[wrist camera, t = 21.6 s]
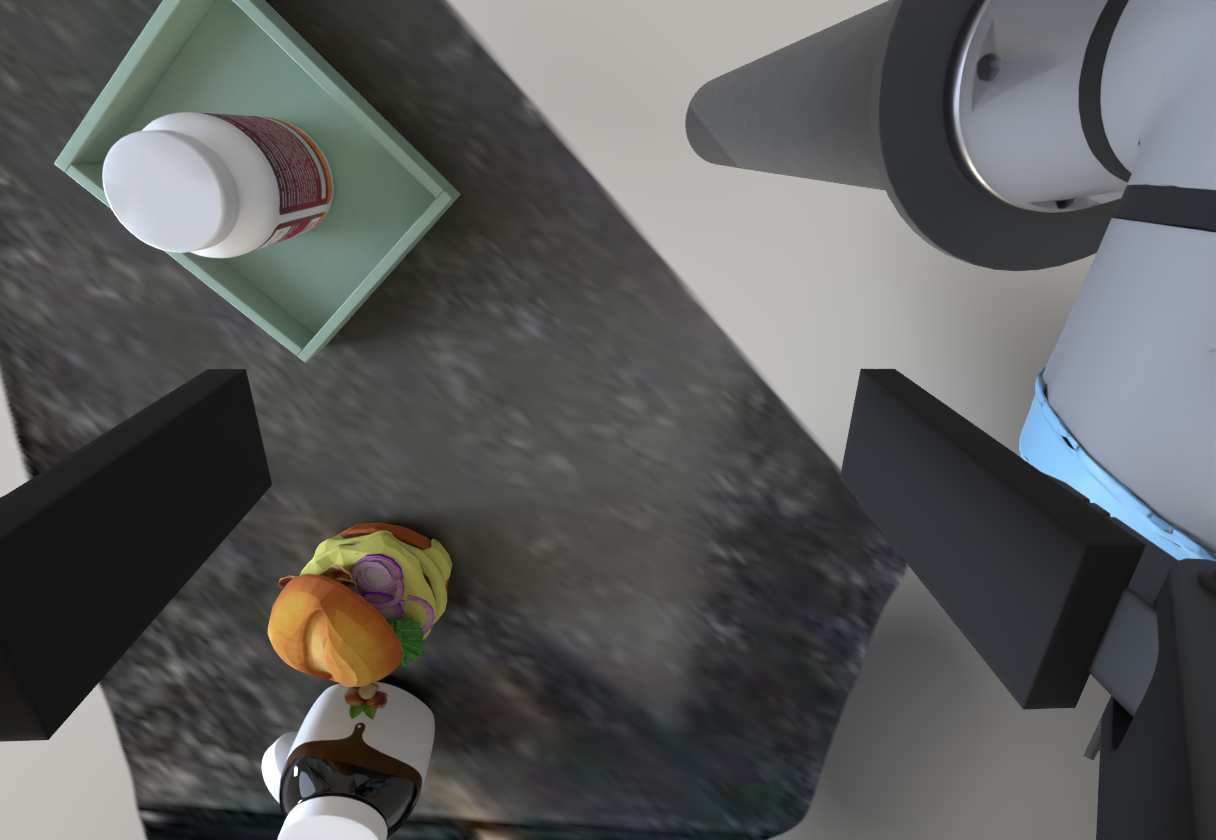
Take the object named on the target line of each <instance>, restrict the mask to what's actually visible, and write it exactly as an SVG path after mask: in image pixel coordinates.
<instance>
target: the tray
mask: <svg viewBox="0 0 1216 840" xmlns="http://www.w3.org/2000/svg"><path fill="white" fill-rule="evenodd" d="M180 112H192V113H211V114H228V115H245V116H261V117H270V118H276V119H280V120H283V121H286V122H288V123H291V124H293V125H295V126H296V127H298V128H300V129H301V130H302V131H304V132H305V133H306V134H308V135H309V136H310V137H311V138H312V139H313V140H314V141H315V142H316V143H317V144H318V146H319V147H320V149H321V150H322V151H323V153H324V155H325V156H326V158H327V160H328V163H329V165H330V168H331V171H332V176H333V183H334V195H333V200H332V204H331V207H330V209H329V212H328V213H327V215H326V216H325V218H324V219H323V220H322V221H321V223H320V224H318V225H317V226H316V227H315V228H313V229H311V230H310V231H308V232H306V233H304V234H301V235H298V236H295V237H292V238H289V239H286V240H284V241H281V242H278V243H275V244H272V245H269V246H266V247H264V248H261V249H258V250H255V251H252V252H250V253H247V254H243V255H239V256H235V257H230V258H211V257H205V256H200V255H197V254H194V253H191V252H186V253H178V252H169V251H165V252H166V253H168V254H169V255H170V256H171V257H173V258H174V259H175V260H176V261H178V262H179V263H180V264H181V265H183V266H184V267H185V268H187V269H188V270H189V271H190V272H192V273H193V274H194V275H195V276H197V277H198V278H199V279H200V280H202V281H203V282H204V283H205V284H207V285H208V286H209V287H210V288H212V289H213V290H214V291H216V292H217V293H218V294H219V295H221V296H222V297H223V298H224V299H226V300H227V301H228V302H229V303H231V304H232V305H233V306H234V307H236V308H237V309H238V310H240V311H241V312H242V313H243V314H245V315H246V316H247V317H248V318H250V319H251V320H252V321H253V322H255V323H256V324H257V325H258V326H260V327H261V328H262V329H263V330H265V331H266V332H267V333H269V334H270V335H271V336H272V337H274V338H275V339H276V340H277V341H279V342H280V343H281V344H282V345H284V346H285V347H286V348H287V349H289V350H290V351H291V352H293V353H294V354H295V355H298V357H299V358H300V359H301V360H303V361H304V362H307V361H308V360H310V359H311V358H312V357H313V356H314V355H316V354H317V353H318V352H319V351H320V350H321V349H323V348H324V347H325V346H326V345H327V344H328V343H329V342H330V340H331V339H332V338H333V337H334V336H335V335H336V334H337V333H338V331H339V330H340V329H341V328H342V327H343V326H344V325H345V324H346V323H347V321H348V320H349V319H350V318H351V317H352V316H353V315H354V314H355V312H356V311H357V310H358V309H359V308H360V307H361V306H362V305H363V304H364V302H365V301H366V300H367V299H368V298H369V297H370V296H371V295H372V293H373V292H374V291H375V290H376V289H377V288H378V287H379V286H380V285H381V283H382V282H383V281H384V280H385V279H386V278H387V277H388V276H389V274H390V273H391V272H392V271H393V270H394V269H395V268H396V267H397V266H398V264H399V263H400V262H401V261H402V260H403V259H404V258H405V257H406V255H407V254H408V253H409V252H410V251H411V250H412V249H413V248H414V247H415V245H416V244H417V243H418V242H419V241H420V240H421V239H422V238H423V236H424V235H425V234H426V233H427V232H428V231H429V230H430V229H431V228H432V226H433V225H434V224H435V223H436V222H437V221H438V220H439V219H440V217H441V216H442V215H443V214H444V213H445V212H446V211H447V210H448V209H449V207H450V206H451V205H452V204H453V203H454V202H455V201H456V200H457V198H458V197H459V196H460V195H461V194H460V193H459V192H458V191H457V190H456V189H455V188H454V187H453V186H452V185H451V184H450V183H449V182H448V181H447V180H446V179H445V178H444V177H443V176H442V175H441V174H440V173H439V172H438V171H437V170H436V169H435V168H434V167H433V166H432V165H431V164H430V163H429V162H428V161H427V160H426V159H425V158H424V157H423V156H422V155H421V154H420V153H419V152H418V151H417V150H416V149H415V148H414V147H413V146H412V145H411V144H410V143H409V142H408V141H407V140H406V139H405V138H404V137H403V136H402V135H401V134H400V133H399V132H398V131H397V130H396V129H395V128H394V127H393V126H392V125H391V124H390V123H389V122H388V121H387V120H386V119H385V118H384V117H383V116H382V115H381V114H380V113H379V112H377V111H376V110H375V109H374V108H373V107H372V106H371V105H370V104H369V103H368V102H367V101H366V100H365V99H364V98H363V97H362V96H361V95H360V94H359V93H358V92H357V91H356V90H355V89H354V88H353V87H352V86H351V85H350V84H349V83H348V82H347V81H346V80H345V79H344V78H343V77H342V76H341V75H340V74H339V73H338V72H337V71H336V70H335V69H334V68H333V67H332V66H331V65H330V64H329V63H328V62H327V61H326V60H325V59H324V58H323V57H322V56H321V55H320V54H319V53H318V52H317V51H316V50H315V49H314V48H313V47H312V46H311V45H310V44H309V43H308V42H307V41H306V40H305V39H304V38H303V37H302V36H301V35H300V34H299V33H298V32H297V31H296V30H295V29H294V28H292V27H291V26H290V25H289V24H288V23H287V22H286V21H285V20H284V19H283V18H282V17H281V16H280V15H279V14H278V13H277V12H276V11H275V10H274V9H273V8H272V7H271V6H270V5H269V4H268V3H267V2H266V1H265V0H163V1H162V3H161V4H160V6H159V7H158V9H157V10H156V12H155V13H154V15H153V16H152V18H151V19H150V21H149V22H148V24H147V25H146V27H145V28H144V30H143V31H142V33H141V34H140V36H139V37H138V39H137V40H136V42H135V43H134V45H133V46H132V48H131V49H130V51H129V52H128V54H127V55H126V57H125V58H124V60H123V61H122V63H121V64H120V66H119V67H118V69H117V70H116V72H115V73H114V75H113V76H112V78H111V79H110V81H109V82H108V84H107V85H106V87H105V88H104V90H103V91H102V93H101V94H100V96H99V97H98V99H97V100H96V102H95V103H94V104H93V106H92V107H91V109H90V110H89V112H88V113H87V115H86V116H85V118H84V119H83V121H82V122H81V124H80V125H79V127H78V128H77V130H76V131H75V133H74V134H73V136H72V137H71V139H70V140H69V142H68V143H67V145H66V146H65V148H64V149H63V151H62V152H61V154H60V155H59V157H58V158H57V160H56V161H55V163H54V164H55V165H56V166H58V167H59V168H60V169H62V170H63V171H64V172H66V173H67V174H68V175H69V176H70V177H72V178H73V179H74V180H75V181H77V182H78V183H79V184H80V185H82V186H83V187H84V188H86V189H87V190H88V191H89V192H91V193H92V194H93V195H94V196H96V197H97V198H98V199H99V200H101V201H102V202H103V203H104V204H106V205H107V206H108V207H110V205H109V202H108V200H107V198H106V195H105V191H104V187H103V177H102V174H103V165H104V161H105V159H106V156H107V154H108V152H109V150H110V149H111V148H112V146H113V145H114V144H115V143H116V142H117V141H119V140H120V139H121V138H123V137H125V136H127V135H129V134H131V133H134V132H139V131H142V130H143V129H144V128H145V127H146V126H147V125H148V124H150V123H151V122H152V121H154V120H156V119H158V118H160V117H163V116H165V115H169V114H173V113H180ZM110 208H111V207H110Z"/></svg>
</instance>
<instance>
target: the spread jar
mask: <svg viewBox="0 0 1216 840" xmlns="http://www.w3.org/2000/svg"><path fill="white" fill-rule="evenodd" d="M434 733H435V722H434V716H433V713H432V711H431V709H430V707H429V705H428V704H427V702H426V701H425V700H424V699H423V697H422V696H421V695H420V694H419V693H417V692H416V691H415V690H414V689H412V688H411V687H410V686H408V685H407V684H405V683H403V682H401V681H399V680H396V679H393V678H390V677H384V678H383V679H381V680H379V681H376V682H373V683H371V684H368V685H366V686H363V687H347V686H344V685H342V684H340V683H335V684H334V685H332V686H331V687H329V688H328V689H326V690H325V691H324V692H323V693H322V694H321V695H320V697H319V698H318V699H317V700H316V701H315V703H314V704H313V706H312V708H311V709H310V711H309V712H308V714H307V716H306V718H305V720H304V722H303V724H302V726H301V728H300V730H299V732H288V733H286V734H283V735H282V736H281V737H280V738H279V739H278V740H277V741H276V742H275V743H274V744H273V745H272V746H271V747H270V748H269V749H268V750H267V751H266V753H265V754H264V757H263V760H262V773H263V777H264V780H265V783H266V785H267V787H268V789H269V791H270V792H271V794H272V795H273V797H274V798H275V799H276V800H277V801H278V802H279V803H280V808H281V811H282V813H283V816H284V818H285V822H284V825H283V827H282V830H281V832H280V834H279V837H278V840H386V839H387V838H388V837H390V836H391V835H392V834H393V833H395V832H396V831H397V830H398V829H399V828H400V827H401V826H402V824H403V823H404V822H405V821H406V820H407V818H408V817H409V816H410V814H411V812H412V810H413V809H414V807H415V805H416V803H417V801H418V799H419V796H420V793H421V790H422V787H423V784H424V781H425V777H426V774H427V769H428V765H429V761H430V757H431V752H432V747H433V742H434Z"/></svg>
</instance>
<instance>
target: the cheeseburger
mask: <svg viewBox="0 0 1216 840" xmlns="http://www.w3.org/2000/svg"><path fill="white" fill-rule="evenodd" d="M451 569H452V562H451V559H450V556H449V554H448V553H447V551H446V550H445V549H444V547H443V546H442V545H441V543H440V542H439V541H437V540H435V539H432V541H430V540H429V539H428V538H427V537H425V536H423V535H421V534H419V533H416V532H414V531H412V530H410V529H408V528H406V527H402V526H397V525H392V524H387V523H382V522H377V523H360V524H356V525H355V526H353V527H351V528H349V529H347V530H345V531H343V532H342V533H340V534H338V535H337V536H335V537H333V538H329V539H327V540H325V541H324V542H322V543H321V544H319V546H318V547H317V549H316V552H315V555H314V558H313V559H312V560H311V561H310V562H309V563H308V564H307V565H306V566H305V568H304V569H303V570H302V572H301V574H300V575H299V576H287V577H284V578H281V579H280V581H279V585H278V586H279V587H281V588H284V589H283V590H282V592H281V593H280V595H279V596H278V598H277V600H276V602H275V603H274V605H273V608H272V612H271V617H270V621H269V626H268V635H269V638H270V641H271V643H272V645H273V648H274V650H275V651H276V652H277V654H278V655H279V656H280V657H281V659H282V660H283V661H285V662H286V663H287V664H288V665H290V666H291V667H293V668H295V669H297V670H299V671H302V672H305V673H307V674H310V675H313V676H316V677H319V678H323V679H329V680H332V681H336V682H338V683H340V684H342V685H344V686H347V687H363V686H366V685H368V684H371V683H373V682H376V681H379V680H381V679H383V678H384V677H386V676H388V675H389V674H390V673H391V672H392V671H393V670H395V669H396V668H397V667H398V666H399V665H401V666H406V665H407V662H406V657H408V658H410V659H412V660H414V661H417V658H418V657H419V656H420V655H421V654H422V653H423V651H422V648H421V647H422V645H423V644H424V643H425V642H424V639H425V638H426V637H427V636H428V634H429V633H430V631H431V629H432V626H433V624H434V623H435V622H437V620H438V619H439V618H440V617H441V615H442V614H443V613H444V611H445V608H446V604H447V588H448V583H449V577H450V573H451ZM405 656H406V657H405Z"/></svg>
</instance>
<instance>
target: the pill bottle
mask: <svg viewBox="0 0 1216 840" xmlns="http://www.w3.org/2000/svg"><path fill="white" fill-rule="evenodd" d="M102 177H103V187H104V191H105V195H106V198H107V200H108V202H109V205H110V207H111V209H112V210H113V212H114V214H115V215H116V217H117V218H118V219H119V221H120V222H121V223H122V224H123V225H124V226H125V227H126V228H127V229H128V231H130V232H131V233H132V234H133V235H134V236H136V237H137V238H139V239H140V240H142V241H143V242H145V243H147V244H148V245H150V246H153V247H155V248H158V249H161V250H164V251H169V252H178V253H186V252H191V253H194V254H197V255H200V256H205V257H211V258H230V257H235V256H239V255H243V254H247V253H250V252H252V251H255V250H258V249H261V248H264V247H266V246H269V245H272V244H275V243H278V242H281V241H284V240H286V239H289V238H292V237H295V236H298V235H301V234H304V233H306V232H308V231H310V230H311V229H313V228H315V227H316V226H317V225H318V224H320V223H321V221H322V220H323V219H324V218H325V216H326V215H327V213H328V212H329V209H330V207H331V204H332V200H333V195H334V183H333V176H332V171H331V168H330V165H329V163H328V160H327V158H326V156H325V155H324V153H323V151H322V150H321V149H320V147H319V146H318V144H317V143H316V142H315V141H314V140H313V139H312V138H311V137H310V136H309V135H308V134H306V133H305V132H304V131H302V130H301V129H300V128H298V127H296V126H295V125H293V124H291V123H288V122H286V121H283V120H280V119H276V118H270V117H261V116H245V115H228V114H211V113H192V112H180V113H173V114H169V115H165V116H163V117H160V118H158V119H156V120H154V121H152V122H151V123H150V124H148V125H147V126H146V127H145V128H144V129H143V130H142V131H139V132H134V133H131V134H129V135H127V136H125V137H123V138H121V139H120V140H119V141H117V142H116V143H115V144H114V145H113V146H112V148H111V149H110V150H109V152H108V154H107V156H106V159H105V161H104V165H103V174H102Z"/></svg>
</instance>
